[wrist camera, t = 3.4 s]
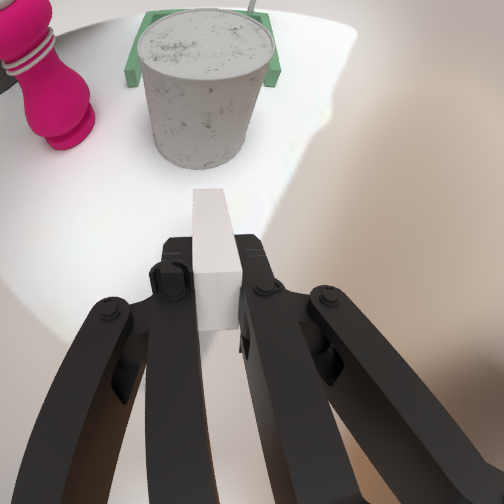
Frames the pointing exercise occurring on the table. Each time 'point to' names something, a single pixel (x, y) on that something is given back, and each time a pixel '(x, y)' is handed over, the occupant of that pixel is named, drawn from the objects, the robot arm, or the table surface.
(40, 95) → the pepper mill
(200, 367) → the robot arm
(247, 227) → the table surface
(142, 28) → the putting stop
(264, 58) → the concrete cylinder
